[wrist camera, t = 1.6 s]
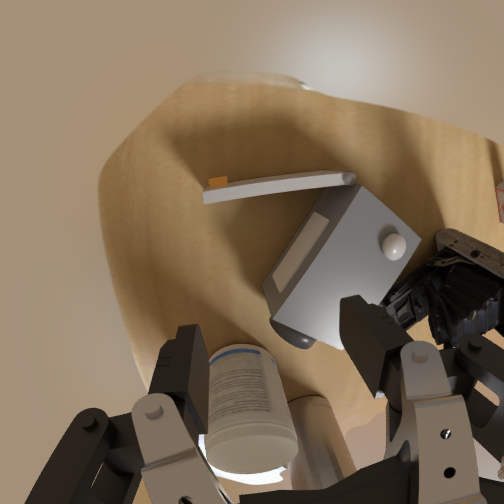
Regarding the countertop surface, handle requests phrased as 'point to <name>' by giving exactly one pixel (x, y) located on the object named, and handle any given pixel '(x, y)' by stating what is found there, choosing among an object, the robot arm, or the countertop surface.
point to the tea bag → (500, 200)
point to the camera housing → (336, 264)
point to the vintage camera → (452, 290)
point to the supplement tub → (247, 412)
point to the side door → (274, 184)
